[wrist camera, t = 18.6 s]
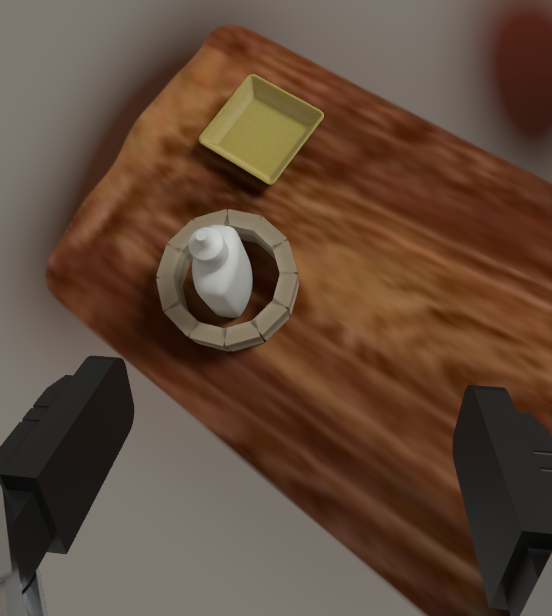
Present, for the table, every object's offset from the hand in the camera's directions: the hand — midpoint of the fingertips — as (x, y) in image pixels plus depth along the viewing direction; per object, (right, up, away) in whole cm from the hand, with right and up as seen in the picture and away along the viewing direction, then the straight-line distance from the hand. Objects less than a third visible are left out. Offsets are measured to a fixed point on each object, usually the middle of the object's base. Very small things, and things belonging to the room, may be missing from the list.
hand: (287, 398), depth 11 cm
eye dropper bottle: (-4, +4, +31) cm, 32 cm away
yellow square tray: (-1, +18, +35) cm, 39 cm away
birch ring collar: (-4, +4, +31) cm, 32 cm away
